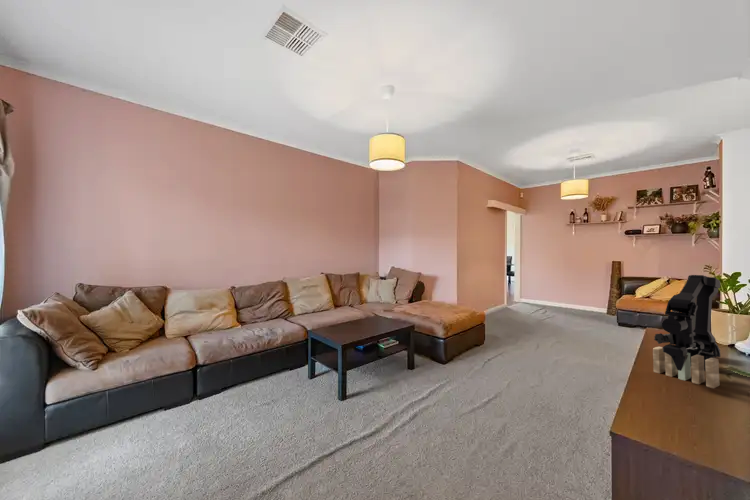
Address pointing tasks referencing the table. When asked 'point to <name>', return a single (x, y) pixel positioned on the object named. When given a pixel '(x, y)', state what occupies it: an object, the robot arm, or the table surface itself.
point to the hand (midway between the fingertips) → (684, 368)
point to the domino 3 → (685, 370)
